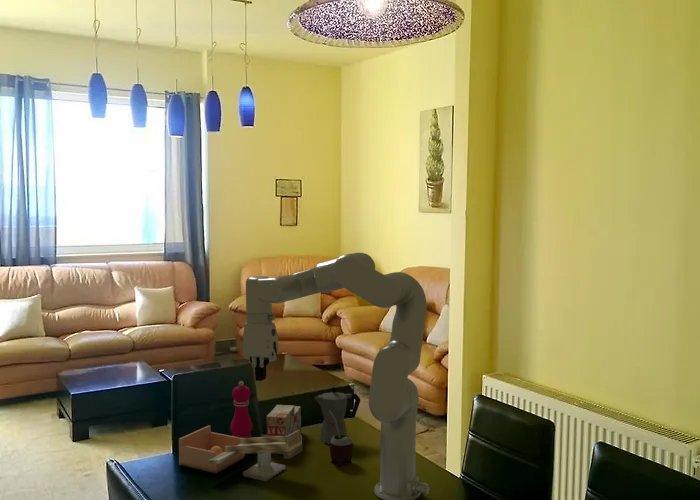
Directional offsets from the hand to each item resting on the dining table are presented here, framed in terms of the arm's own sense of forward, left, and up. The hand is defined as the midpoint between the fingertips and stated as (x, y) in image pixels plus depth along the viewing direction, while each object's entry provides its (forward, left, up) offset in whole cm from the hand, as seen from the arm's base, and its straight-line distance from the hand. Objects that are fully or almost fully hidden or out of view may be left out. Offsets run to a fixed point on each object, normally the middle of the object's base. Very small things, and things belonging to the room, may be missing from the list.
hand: (260, 379), depth 198 cm
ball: (+14, +3, -24) cm, 28 cm away
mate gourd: (-19, -14, -27) cm, 36 cm away
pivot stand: (-3, +3, -26) cm, 27 cm away
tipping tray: (-4, +7, -21) cm, 23 cm away
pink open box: (+16, +3, -26) cm, 31 cm away
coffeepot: (-9, -31, -27) cm, 42 cm away
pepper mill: (+19, -16, -27) cm, 36 cm away
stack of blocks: (+5, -21, -27) cm, 34 cm away
